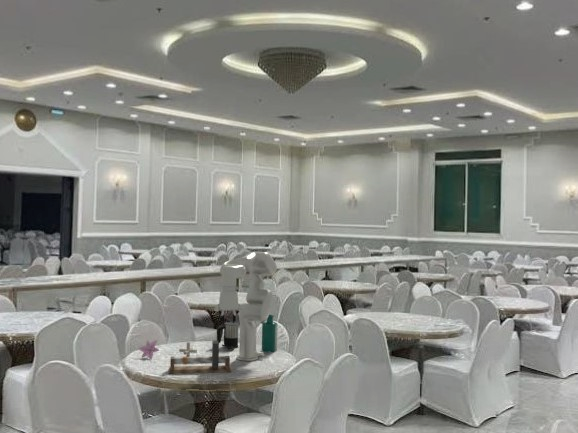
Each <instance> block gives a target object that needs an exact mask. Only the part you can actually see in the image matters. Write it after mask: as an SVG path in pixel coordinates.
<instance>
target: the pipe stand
mask: <svg viewBox="0 0 578 433" xmlns="http://www.w3.org/2000/svg"><path fill="white" fill-rule="evenodd" d="M230 362H231V358H230V355H223V356H222V355H219V364H222V365H218V369H213V368H212V365H207V364H212V363H213V356H212V355H211V356H190V357H187V356H186V355H185V356H183V355H182V356H170V365H169V370H168V374H169V375H177V374H178V375H180V374H181V375H182V374H183V375H184V374H216V373H218V374H221V373H222V374H223V373H232V370H231V367H230V365H231V364H230ZM194 364H195V365H194ZM199 364H201V365H199ZM202 364H206V365H202ZM223 364H224V365H223ZM175 365H181V366H175ZM188 365H189V366H188Z"/></svg>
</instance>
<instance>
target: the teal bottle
mask: <svg viewBox="0 0 578 433" xmlns="http://www.w3.org/2000/svg"><path fill="white" fill-rule="evenodd" d="M274 317H275V314H269V316H268V318H267V320H266V321H264V322H261V324H262V325H261V352H264V353H265V352H266V353H267V352H268V353H273V352H276V351H277V349H278V323H277V322H274Z"/></svg>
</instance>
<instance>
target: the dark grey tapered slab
mask: <svg viewBox="0 0 578 433" xmlns="http://www.w3.org/2000/svg"><path fill="white" fill-rule="evenodd" d="M211 346H212V347H211V348H212V349H211V351H212V352H211V356H213V363H211V366H212V368H213V369H218V366H220V365H219V364H220V363H219V356H220V354H219V353H220V343H219V342H218V341H217V340H212V344H211Z"/></svg>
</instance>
